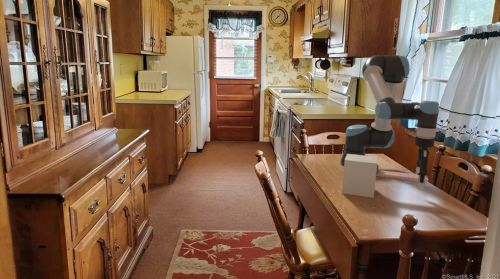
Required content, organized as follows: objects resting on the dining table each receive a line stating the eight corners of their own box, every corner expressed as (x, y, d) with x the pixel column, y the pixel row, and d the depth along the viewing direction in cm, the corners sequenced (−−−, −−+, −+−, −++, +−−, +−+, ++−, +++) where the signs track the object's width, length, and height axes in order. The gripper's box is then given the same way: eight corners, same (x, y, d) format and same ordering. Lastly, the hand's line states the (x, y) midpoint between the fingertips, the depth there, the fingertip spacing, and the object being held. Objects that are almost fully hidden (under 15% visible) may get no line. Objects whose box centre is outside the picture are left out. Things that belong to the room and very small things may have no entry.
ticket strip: (370, 171, 174) (370, 169, 173) (426, 177, 166) (427, 175, 165) (370, 174, 168) (370, 172, 168) (428, 181, 160) (428, 179, 160)
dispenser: (344, 185, 182) (347, 153, 179) (376, 189, 177) (379, 157, 174) (341, 193, 171) (344, 159, 168) (375, 197, 166) (379, 163, 163)
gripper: (413, 131, 172) (408, 176, 177) (418, 141, 150) (411, 192, 155) (431, 132, 169) (425, 178, 174) (438, 143, 148) (431, 195, 152)
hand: (419, 185), depth 164 cm, fingers open, 11 cm apart
